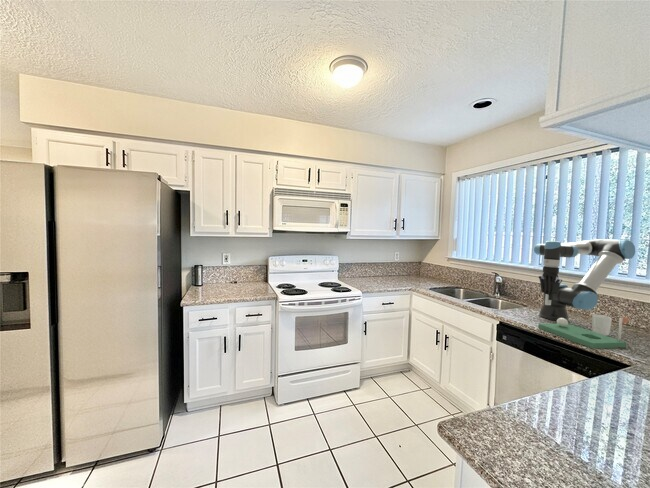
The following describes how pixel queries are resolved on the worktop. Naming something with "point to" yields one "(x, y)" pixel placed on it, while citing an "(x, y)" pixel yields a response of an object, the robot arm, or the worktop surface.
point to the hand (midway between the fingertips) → (547, 304)
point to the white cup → (601, 324)
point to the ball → (562, 322)
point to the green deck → (586, 335)
